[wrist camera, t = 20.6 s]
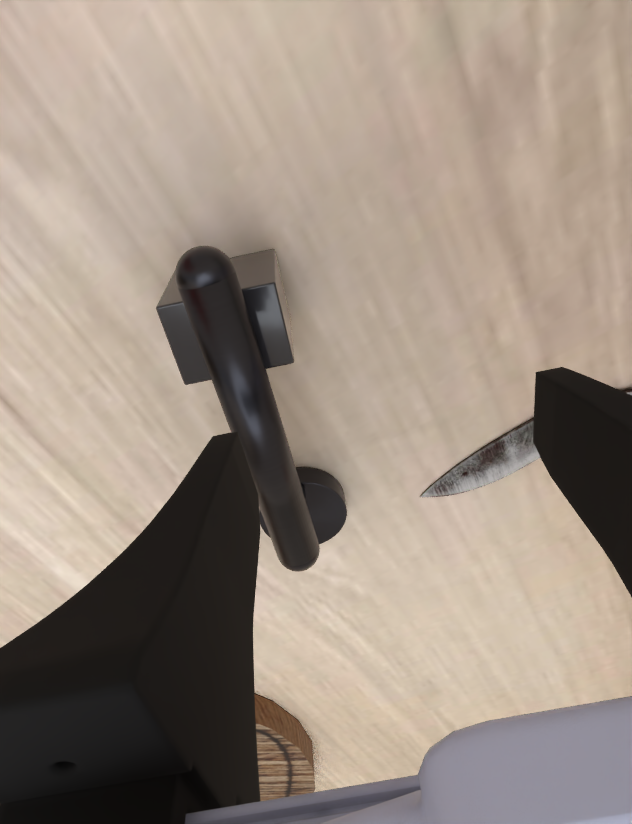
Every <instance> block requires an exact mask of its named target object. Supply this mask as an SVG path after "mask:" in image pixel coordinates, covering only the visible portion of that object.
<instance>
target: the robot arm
mask: <svg viewBox="0 0 632 824" xmlns="http://www.w3.org/2000/svg"><path fill="white" fill-rule="evenodd" d="M533 443H534V445H535V447H536V449H537V451H538V453H539V455H540V457H541V459H542V461H543V463H544V465H545V467H546V469H547V470H548V472H549V474H550V476H551V477H552V479H553V480H554V482H555V483H556V485H557V486H558V487H559V489H560V490H561V492H562V493H563V494H564V496H565V497H566V499H567V500H568V501H569V503H570V504H571V506H572V507H573V508H574V510H575V511H576V512H577V514H578V515H579V517H580V518H581V519H582V521H583V522H584V523H585V525H586V526H587V528H588V529H589V530H590V532H591V533H592V535H593V536H594V537H595V539H596V540H597V541H598V543H599V544H600V546H601V547H602V548H603V550H604V551H605V553H606V554H607V556H608V557H609V559H610V561H611V562H612V564H613V565H614V567H615V569H616V570H617V572H618V574H619V576H620V577H621V579H622V581H623V583H624V584H625V586H626V588H627V590H628V591H629V593H630V595H631V597H632V395H630V394H627V393H625V392H623V391H620V390H618V389H615V388H613V387H611V386H608V385H606V384H604V383H601V382H599V381H597V380H594V379H592V378H590V377H587V376H585V375H582V374H580V373H577V372H575V371H572V370H569V369H566V368H563V367H560V368H555V369H550V370H545V371H540V372H536V383H535V406H534V428H533ZM259 540H260V514H259V497H258V492H257V489H256V486H255V483H254V480H253V477H252V474H251V471H250V468H249V465H248V462H247V459H246V456H245V453H244V450H243V447H242V444H241V441H240V438H239V435H238V432H232V433H227V434H222V435H217V436H213V437H212V438H211V440H210V441H209V443H208V444H207V446H206V447H205V448H204V450H203V451H202V453H201V454H200V456H199V457H198V459H197V460H196V462H195V463H194V465H193V466H192V468H191V469H190V471H189V472H188V474H187V475H186V477H185V478H184V480H183V481H182V482H181V484H180V485H179V487H178V488H177V489H176V491H175V492H174V494H173V495H172V496H171V497H170V499H169V500H168V501H167V503H166V504H165V505H164V506H163V508H162V509H161V510H160V511H159V513H158V514H157V515H156V517H155V518H154V519H153V520H152V521H151V523H150V524H149V525H148V526H147V527H146V528H145V529H144V530H143V532H142V533H141V534H140V535H139V536H138V537H137V538H136V539H135V540H134V541H133V542H132V543H131V544H130V545H129V546H128V547H127V548H126V550H125V551H123V552H122V553H121V554H120V555H119V556H118V557H117V558H116V559H115V560H114V561H113V562H112V563H111V564H110V565H108V566H107V567H106V568H105V569H104V570H103V571H102V572H101V573H100V574H99V575H97V576H96V577H95V578H94V579H93V580H92V581H91V582H90V583H89V584H87V585H86V586H85V587H84V588H83V589H81V590H80V591H79V592H78V593H76V594H75V595H74V596H73V597H71V598H70V599H69V600H68V601H66V602H65V603H64V604H63V605H61V606H60V607H59V608H57V609H56V610H55V611H53V612H52V613H51V614H49V615H48V616H47V617H45V618H44V619H42V620H41V621H40V622H38V623H37V624H36V625H34V626H33V627H31V628H30V629H28V630H27V631H25V632H24V633H22V634H21V635H19V636H18V637H16V638H15V639H13V640H12V641H10V642H9V643H7V644H6V645H4V646H3V647H1V648H0V824H632V696H630V697H624V698H618V699H612V700H606V701H600V702H595V703H589V704H583V705H577V706H571V707H565V708H559V709H554V710H548V711H542V712H536V713H530V714H524V715H519V716H513V717H507V718H501V719H495V720H489V721H485V722H482V723H479V724H475V725H472V726H469V727H466V728H463V729H459V730H456V731H453V732H452V733H450V734H449V735H447V736H446V737H444V738H443V739H442V740H440V741H439V742H437V743H436V744H435V745H433V746H432V747H430V748H429V750H428V751H427V753H426V754H425V757H424V759H423V762H422V765H421V767H420V770H419V773H418V775H415V776H409V777H403V778H397V779H391V780H385V781H379V782H373V783H367V784H361V785H355V786H349V787H343V788H337V789H331V790H325V791H319V792H313V793H307V794H301V795H295V796H289V797H284V798H278V799H272V800H266V801H260V787H259V773H258V756H257V737H256V718H255V693H254V663H253V613H254V601H255V589H256V577H257V565H258V553H259Z"/></svg>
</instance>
